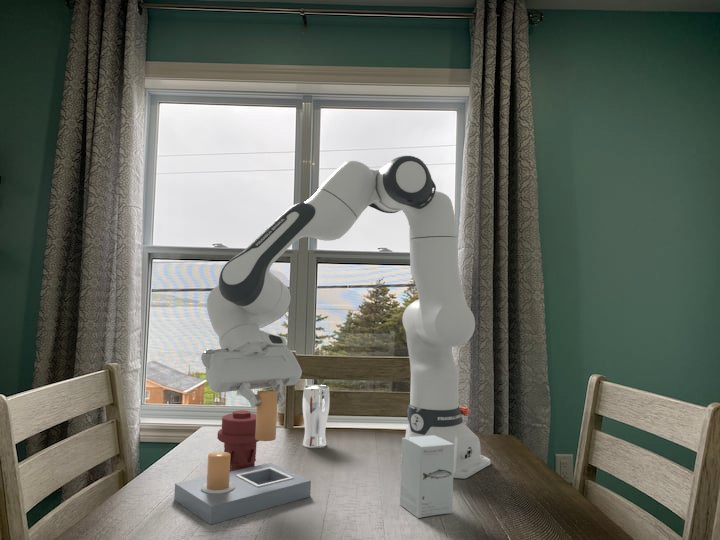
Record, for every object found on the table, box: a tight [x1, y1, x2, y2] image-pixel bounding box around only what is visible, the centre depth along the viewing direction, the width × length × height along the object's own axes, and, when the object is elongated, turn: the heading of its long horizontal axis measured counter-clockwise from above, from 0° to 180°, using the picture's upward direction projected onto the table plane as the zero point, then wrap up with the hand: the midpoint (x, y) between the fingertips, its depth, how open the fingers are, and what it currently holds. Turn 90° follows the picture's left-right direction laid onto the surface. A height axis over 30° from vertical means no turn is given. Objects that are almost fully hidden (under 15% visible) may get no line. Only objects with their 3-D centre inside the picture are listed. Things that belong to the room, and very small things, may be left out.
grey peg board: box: [173, 451, 312, 525], centre depth 104 cm, size 21×14×9 cm, turn 133°
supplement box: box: [399, 435, 454, 519], centre depth 102 cm, size 7×7×13 cm
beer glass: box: [302, 384, 330, 449], centre depth 142 cm, size 7×7×15 cm
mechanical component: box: [217, 409, 259, 471], centre depth 122 cm, size 12×10×10 cm
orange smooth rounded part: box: [255, 389, 278, 442], centre depth 108 cm, size 4×4×9 cm
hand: (268, 403), depth 107 cm, fingers closed on orange smooth rounded part, 4 cm apart
